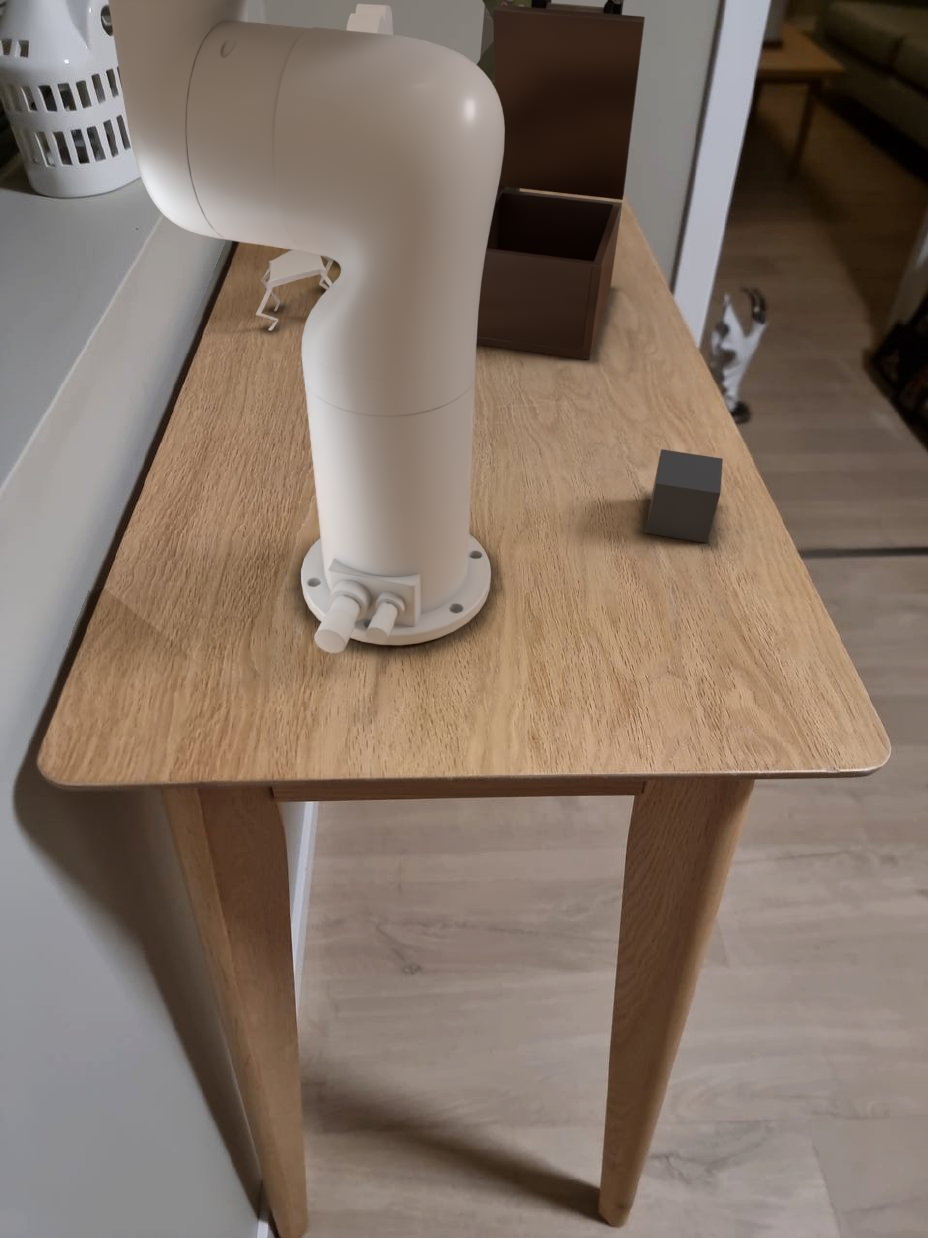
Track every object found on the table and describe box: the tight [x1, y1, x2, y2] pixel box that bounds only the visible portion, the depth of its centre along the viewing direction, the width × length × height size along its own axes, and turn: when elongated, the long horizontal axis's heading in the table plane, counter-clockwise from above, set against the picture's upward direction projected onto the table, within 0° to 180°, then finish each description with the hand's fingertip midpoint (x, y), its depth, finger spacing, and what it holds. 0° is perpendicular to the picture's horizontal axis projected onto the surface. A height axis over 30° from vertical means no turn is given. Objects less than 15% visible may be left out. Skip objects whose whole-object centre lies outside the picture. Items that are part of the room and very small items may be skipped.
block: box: [645, 448, 724, 544], centre depth 66 cm, size 4×4×4 cm
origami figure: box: [255, 249, 335, 331], centre depth 89 cm, size 12×8×5 cm
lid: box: [493, 2, 646, 201], centre depth 84 cm, size 16×13×5 cm
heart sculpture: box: [345, 3, 394, 35], centre depth 112 cm, size 16×5×18 cm, turn 176°
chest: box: [476, 189, 623, 361], centre depth 88 cm, size 16×13×9 cm
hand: (572, 48), depth 82 cm, fingers closed on lid, 5 cm apart
